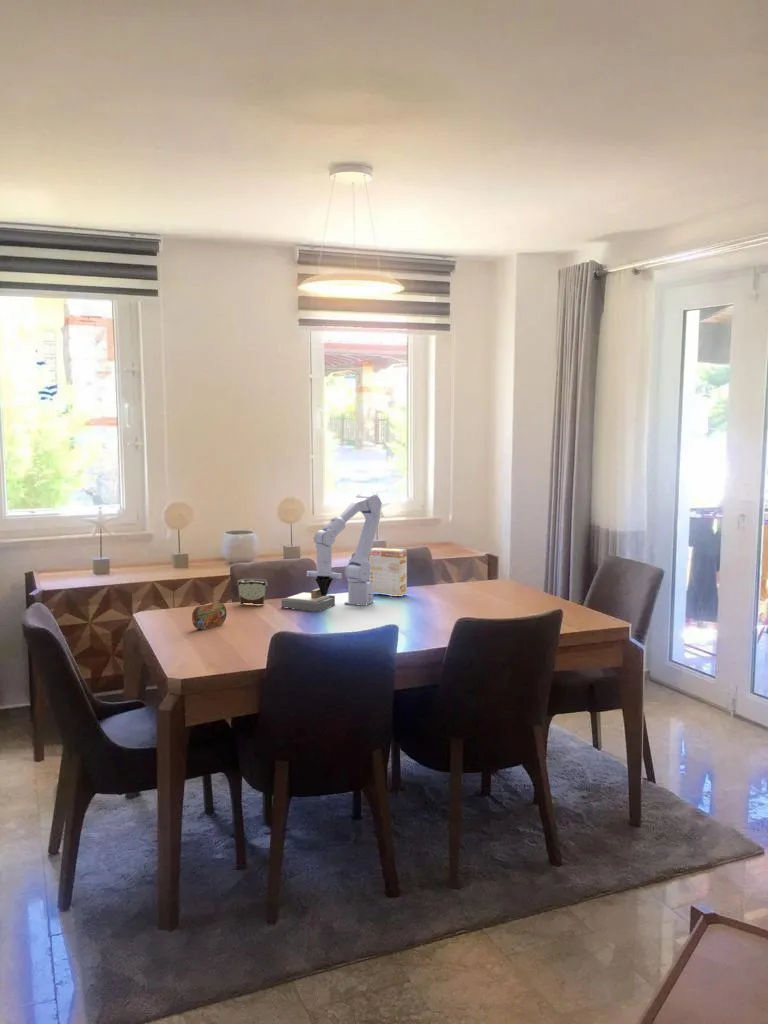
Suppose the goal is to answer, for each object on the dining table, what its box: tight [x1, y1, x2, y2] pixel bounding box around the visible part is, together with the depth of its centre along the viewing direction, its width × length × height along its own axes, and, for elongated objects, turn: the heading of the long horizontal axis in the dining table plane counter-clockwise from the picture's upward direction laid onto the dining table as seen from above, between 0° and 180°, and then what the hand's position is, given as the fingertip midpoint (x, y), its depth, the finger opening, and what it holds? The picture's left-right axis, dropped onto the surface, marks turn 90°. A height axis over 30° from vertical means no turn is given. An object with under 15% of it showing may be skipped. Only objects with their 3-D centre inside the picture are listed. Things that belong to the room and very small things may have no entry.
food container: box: [236, 578, 269, 605], centre depth 343 cm, size 12×6×10 cm, turn 84°
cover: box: [286, 587, 330, 601], centre depth 339 cm, size 12×13×4 cm
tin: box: [191, 601, 227, 631], centre depth 302 cm, size 15×3×8 cm, turn 148°
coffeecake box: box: [368, 547, 408, 595], centre depth 366 cm, size 15×7×20 cm, turn 59°
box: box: [281, 592, 336, 612], centre depth 339 cm, size 16×14×4 cm
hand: (324, 595), depth 336 cm, fingers closed
